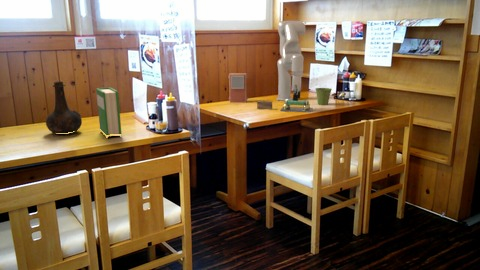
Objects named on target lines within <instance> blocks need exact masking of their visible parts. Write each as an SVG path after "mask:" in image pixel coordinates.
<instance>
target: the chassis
mask: <svg viewBox="0 0 480 270" xmlns="http://www.w3.org/2000/svg"><path fill="white" fill-rule="evenodd" d="M287 101H289V100H288V99H287V100H285V101H284V104H283V107H282V108H280V110H279V111H280V112H292V113H293V112H295V113H312V110H314V109H313V107H311V104H310V103H309V105H307V101H309V99H306V100H305V101H306V105H303V106H301V107H300V106H291V105H288V104H287Z"/></svg>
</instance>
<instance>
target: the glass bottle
mask: <svg viewBox="0 0 480 270" xmlns="http://www.w3.org/2000/svg"><path fill="white" fill-rule="evenodd" d="M53 87H54V100H55V101H54V110H53V112H51V113H49V114H48V115H47V117H46V120H45V125H46V128H47V130H49V132H51V133H53V134H54V133H68V132H73V131H76V132H78V131H79V130H80V128H81V126H82V123H83V120H82V115H81V113H79V112H78V111H76V110H71V109H70V107H69V106H68V102H67V98H66V94H65V89H64V87H66V84H64V81H61V80H60V81H54V83H53V85H52V88H53ZM78 129H79V130H78ZM77 130H78V131H77Z"/></svg>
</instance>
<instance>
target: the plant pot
mask: <svg viewBox="0 0 480 270" xmlns="http://www.w3.org/2000/svg"><path fill="white" fill-rule="evenodd" d="M332 90H333V89H332V88H331V87H330V88H329V87H317V88H315V93H316V98H317V99H316V101H317V105H320V106H323V105H324V106H327V105H329V101H330V97H331V93H332Z"/></svg>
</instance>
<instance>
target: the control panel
mask: <svg viewBox="0 0 480 270" xmlns="http://www.w3.org/2000/svg"><path fill="white" fill-rule="evenodd" d="M227 78H228V80H229V81H228V83H229V97H228V98H227V99H228V100H229V103H233V104H234V103H247V102H248V100H249V97H248V96H247V95H248V89H247V88H248V87H247V86H248V85H247V83H248V82H247V81H248V80H247V78H249V75H247V73H245V72H244V73H243V72H240V73H239V72H238V73H237V72H234V73H233V72H231V73H229V74H228V76H227Z"/></svg>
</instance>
